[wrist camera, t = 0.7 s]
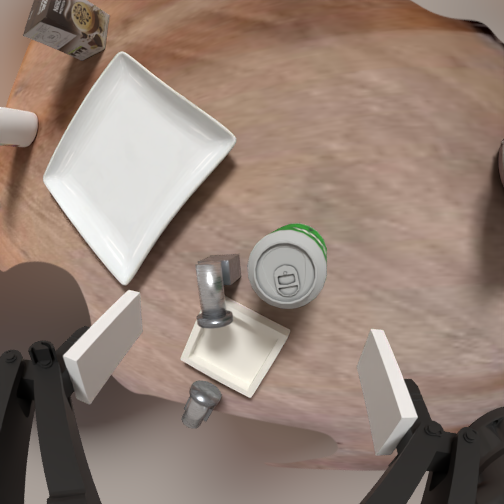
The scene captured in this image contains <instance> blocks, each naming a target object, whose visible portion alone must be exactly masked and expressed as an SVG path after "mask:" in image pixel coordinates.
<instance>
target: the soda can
mask: <svg viewBox="0 0 504 504" xmlns="http://www.w3.org/2000/svg"><path fill="white" fill-rule="evenodd" d="M247 267H248V278H249V281H250V283H251V286H252V288H253V290H254V291H255V292H256V293H257V295H258V296H259V297H260V298H261V299H262V300H264V301H265V302H267V303H268V304H270V305H272V306H275V307H279V308H282V309H294V308H297V307H301V306H304V305H306V304H308V303H309V302H310V301H312V300H313V299H315V298H316V297H317V295H318V294H319V292H320V291H321V290H322V288H323V286H324V283H325V280H326V276H327V248H326V245H325V242H324V239H323V238H322V237H321V235H320V234H319V233H318V231H316V230H315V229H313V228H312V227H310V226H308V225H304V224H301V223H295V224H288V225H286V226H283V227H281V228H279V229H277V230H275V231H273V232H272V233H270V234H268V235H266V236H265V237H264V238H263V239H261V240H260V241H259V242H258V243H257V244H256V245H255V247H254V248H253V250H252V252H251V253H250V257H249V261H248V265H247Z"/></svg>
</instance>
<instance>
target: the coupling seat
mask: <svg viewBox="0 0 504 504" xmlns="http://www.w3.org/2000/svg"><path fill="white" fill-rule="evenodd" d="M225 303H226V310H228V311H231V312H232V313H233V322H232V323H231V324H229V325H227V326H224V327H220V328H202V327H200V326H198V324H197V320H196V323H195V325H194V327H193V330H192V332H191V335H190V337H189V339H188V342H187V344H186V347H185V349H184V351H183V354H182V356H181V359H180V360H182V361H184V362H185V363H187V364H189V365H190V366H192V367H194V368H196V369H197V370H199V371H201V372H203V373H204V374H206V375H208V376H210V377H211V378H213V379H215V380H217V381H219V382H220V383H222V384H224V385H226V386H228V387H230V388H232V389H234V390H235V391H237V392H239V393H241V394H243V395H245V396H247V397H249V398H251V397H252V395H253V394H254V392H255V391H256V389H257V388H258V386H259V384H260V383H261V381H262V380H263V378H264V376H265V375H266V373H267V372H268V370H269V368H270V367H271V365H272V363H273V362H274V360H275V358H276V357H277V355H278V353H279V352H280V350H281V348H282V347H283V345H284V343H285V342H286V340H287V338H288V336H289V333H290V329H288V328H286V327H284V326H282V325H280V324H278V323H276V322H274V321H272V320H270V319H268V318H266V317H264V316H262V315H260V314H258V313H257V312H255V311H253V310H251V309H249V308H247V307H245V306H243V305H241V304H240V303H238V302H236V301H234V300H232V299H230V298H228V297H227V296H225ZM200 313H202V312H201V311H200ZM200 313H199V314H200Z"/></svg>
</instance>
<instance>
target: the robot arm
mask: <svg viewBox="0 0 504 504" xmlns="http://www.w3.org/2000/svg"><path fill="white" fill-rule="evenodd" d="M142 332H143V329H142V316H141V301H140V292H136V291H131V290H128V291H127V292H126V293H125V294H124V295H123V296H122V297H121V298H120V299H119V300H118V301H117V302H116V303H114V304H113V305H112V306H111V307H110V308H109V309H108V310H107V311H106V312H105V313H104V314H103V315H102V316H101V317H100V318H99V319H98V320H97V321H96V322H95V323H94V324H93V325H92V326H91V327H87V326H84V327H82V328H80V329H78V330H77V331H75V332H74V333H73V335H72V336H71V337H69V339H67V341H65V342H64V343H63V344H62V345H61V346H60V347H59V348H58V350H56V351H55V349H54V346H53V344H52V343H51V342H48V341H38V342H35V343H34V344H32V345H31V346H30V348H29V350H28V352H29V354H30V357H31V360H32V361H31V360H24V359H23V357H22V355H21V353H20V352H19V351H17V350H8V351H6V352H4V353H3V354H2V356H1V357H0V504H24V492H25V475H26V465H27V456H28V448H29V441H30V434H31V428H32V422H33V417H34V411H36V421H37V430H38V437H39V444H40V451H41V457H42V462H43V467H44V473H45V477H46V482H47V486H48V490H49V495H50V496H49V498H48V499H47V504H102V503H101V501H100V498H99V495H98V493H97V490H96V487H95V484H94V482H93V479H92V476H91V473H90V469H89V467H88V463H87V460H86V457H85V453H84V450H83V446H82V442H81V438H80V435H79V430H78V426H77V422H76V418H75V413H74V409H73V403H72V399H71V397H70V396H71V394H72V393H73V392H75V394H76V397H77V399H78V400H81V401H83V402H85V403H88V404H91V402H92V401H93V399H94V398H95V397H96V395H97V394H98V392H99V391H100V389H101V388H102V386H103V385H104V384H105V382H106V381H107V380H108V378H109V377H110V375H111V374H112V373H113V371H114V370H115V369H116V367H117V366H118V364H119V363H120V362H121V360H122V359H123V358H124V356H125V355H126V353H127V352H128V351H129V349H130V348H131V347H132V345H133V344H134V343H135V341H136V340H137V339H138V337H139V336H140V335H141V333H142ZM357 369H358V374H359V378H360V382H361V386H362V391H363V395H364V399H365V404H366V408H367V413H368V418H369V423H370V428H371V433H372V438H373V443H374V448H375V453H376V455H391V454H392V452H393V451H394V450H395V448H397V452H398V455H397V456H396V457H395V458H394V460H393V461H392V462H391V463H390V464H389V467H388V468H387V470H386V471H385V472H384V474H383V475H382V476H381V478H380V479H379V480H378V482H377V483H376V484H375V486H374V487H373V488H372V489H371V491H370V492H369V493H368V494H367V495H366V496H365V498H364V499H363V500H362V501H361V503H360V504H406V503H407V502H408V500H409V499H410V497H411V495H412V494H413V492H414V490H415V489H416V487H417V486H418V484H419V482H420V481H421V479H422V477H423V475H424V474H425V472H426V471H429V474H428V479H427V483H426V487H425V491H424V494H423V498H422V501H421V504H504V407H501V408H498V409H495V410H493V411H491V412H489V413H487V414H485V415H484V416H482V417H481V418H479V419H478V420H477V421H475V422H474V423H473V424H472V425H471V426H470V427H465V428H462V429H461V430H460V431H459V432H458V433H457V434H455V433H450V432H445V431H444V430H443V428H442V427H441V425H440V424H438V423H437V422H435V421H432V420H431V418H430V415H429V413H428V410H427V408H426V405H425V403H424V400H423V398H422V395H420V394H421V393H420V390H419V388H418V386H417V385H416V384H415V382H414V381H413V380H412V379H403V376H402V374H401V371H400V369H399V367H398V364H397V362H396V359H395V357H394V354H393V352H392V350H391V347H390V345H389V343H388V340H387V338H386V336H385V333H384V331H383V330H377V329H371V330H370V333H369V335H368V338H367V341H366V344H365V346H364V349H363V352H362V354H361V357H360V359H359V362H358V365H357Z"/></svg>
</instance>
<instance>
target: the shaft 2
mask: <svg viewBox="0 0 504 504" xmlns="http://www.w3.org/2000/svg"><path fill="white" fill-rule="evenodd" d="M189 393H190V397H189V399H188V401H187V403H186V405H185V407H184V409H185V412H184V414H183V416H182V422H183V424H184V425H186V426H187V427H189V428H198V427H199V426H200V424H201V422H202V421H203V420H204V421H207V419H208V418H209V416H210V414H211V413H212V411H213V409H214V408H215V406H216V405H217V404H218V403H219V401H220V399H221V396H222V394H221V393H220V391H219V389H218V388H217V387H216V386H215V385H213V384H211V383H209V382H206V381H196V382H194V383H193V384H192V386H191V388H190V391H189Z"/></svg>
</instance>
